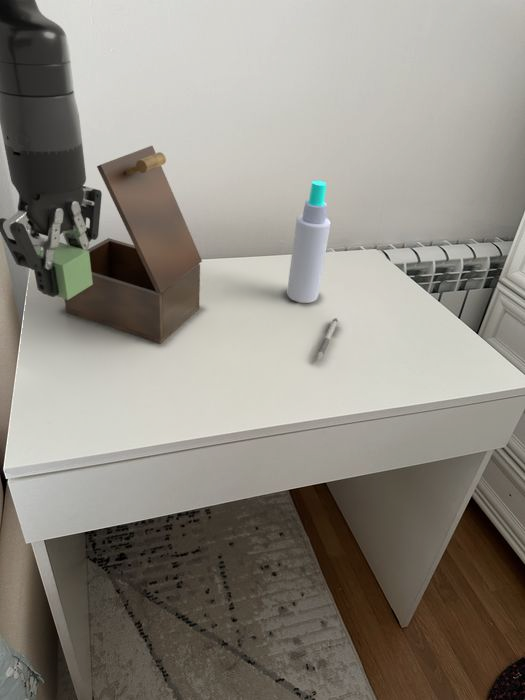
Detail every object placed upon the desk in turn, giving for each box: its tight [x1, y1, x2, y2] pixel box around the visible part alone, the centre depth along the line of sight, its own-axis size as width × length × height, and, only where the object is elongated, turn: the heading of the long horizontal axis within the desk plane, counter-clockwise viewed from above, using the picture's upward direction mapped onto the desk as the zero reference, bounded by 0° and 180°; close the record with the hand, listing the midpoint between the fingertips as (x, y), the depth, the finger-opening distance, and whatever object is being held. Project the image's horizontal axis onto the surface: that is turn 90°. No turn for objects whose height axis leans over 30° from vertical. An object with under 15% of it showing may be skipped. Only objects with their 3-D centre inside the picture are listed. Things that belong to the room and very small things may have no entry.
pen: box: [316, 317, 339, 362], centre depth 90 cm, size 1×14×1 cm, turn 161°
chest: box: [64, 237, 201, 345], centre depth 91 cm, size 19×13×9 cm
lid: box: [96, 145, 203, 294], centre depth 81 cm, size 20×13×5 cm
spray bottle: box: [286, 180, 331, 304], centre depth 97 cm, size 6×6×22 cm
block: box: [40, 241, 93, 300], centre depth 63 cm, size 4×4×4 cm
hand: (65, 284), depth 64 cm, fingers closed on block, 4 cm apart
